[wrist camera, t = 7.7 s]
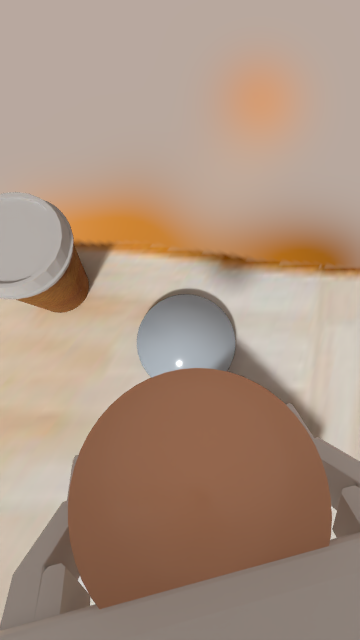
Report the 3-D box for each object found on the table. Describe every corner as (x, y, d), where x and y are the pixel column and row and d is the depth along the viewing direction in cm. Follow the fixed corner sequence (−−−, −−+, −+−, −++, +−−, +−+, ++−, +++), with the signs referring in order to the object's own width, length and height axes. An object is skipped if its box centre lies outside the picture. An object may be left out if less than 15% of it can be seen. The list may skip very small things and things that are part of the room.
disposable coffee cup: (102, 324, 36) (65, 291, 24) (19, 327, 35) (-59, 296, 24) (103, 249, 38) (69, 185, 26) (25, 251, 38) (-44, 188, 26)
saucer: (118, 341, 35) (116, 339, 34) (187, 278, 37) (187, 275, 36) (184, 413, 33) (184, 413, 32) (253, 344, 35) (255, 342, 34)
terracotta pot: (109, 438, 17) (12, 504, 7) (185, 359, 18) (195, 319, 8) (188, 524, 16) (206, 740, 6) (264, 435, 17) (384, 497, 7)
